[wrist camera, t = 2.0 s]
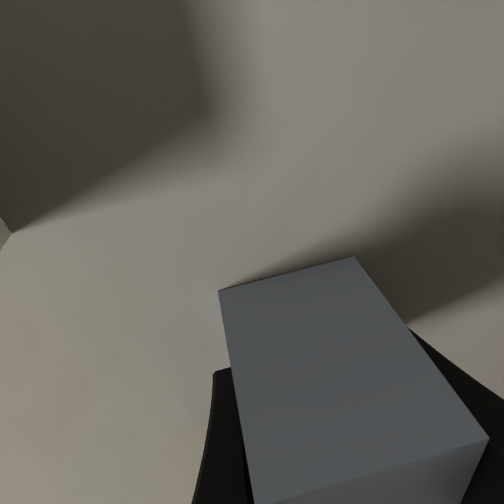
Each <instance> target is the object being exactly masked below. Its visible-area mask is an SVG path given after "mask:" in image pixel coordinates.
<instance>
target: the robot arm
mask: <svg viewBox="0 0 504 504" xmlns="http://www.w3.org/2000/svg"><path fill="white" fill-rule="evenodd" d="M407 328H408V327H407ZM408 329H409V328H408ZM409 330H410V329H409ZM410 332H411V333H412V335H413V336H414V337H415V339H416V340H417V341H418V343H419V344H420V345H421V347H422V348H423V349H424V351H425V352H426V353H427V355H428V356H429V357H430V359H431V360H432V361H433V363H434V364H435V365H436V367H437V368H438V369H439V371H440V372H441V374H442V375H443V376H444V378H445V379H446V380H447V382H448V383H449V384H450V386H451V387H452V388H453V390H454V391H455V392H456V394H457V395H458V396H459V398H460V399H461V400H462V402H463V403H464V404H465V406H466V407H467V408H468V410H469V411H470V413H471V414H472V415H473V417H474V418H475V419H476V421H477V422H478V423H479V425H480V426H481V427H482V429H483V430H484V431H485V433H486V434H487V435H488V437H489V441H488V443H487V445H486V447H485V449H484V452H483V454H482V456H481V458H480V461H479V463H478V465H477V467H476V469H475V472H474V474H473V476H472V478H471V481H470V483H469V485H468V487H467V489H466V492H465V494H464V496H463V498H462V501H461V503H460V504H504V399H502V398H501V397H499V396H498V395H496V394H495V393H493V392H492V391H490V390H489V389H488V388H486V387H485V386H483V385H482V384H480V383H479V382H478V381H476V380H475V379H473V378H472V377H471V376H469V375H468V374H467V373H465V372H464V371H463V370H461V369H460V368H459V367H457V366H456V365H455V364H453V363H452V362H451V361H449V360H448V359H447V358H445V357H444V356H443V355H442V354H440V353H439V352H438V351H436V350H435V349H434V348H433V347H431V346H430V345H429V344H428V343H426V342H425V341H424V340H423V339H421V338H420V337H419V336H418V335H417V334H415V333H414V332H413V331H412V330H410ZM192 504H254V498H253V492H252V486H251V480H250V475H249V469H248V463H247V457H246V451H245V446H244V440H243V434H242V428H241V422H240V417H239V411H238V405H237V399H236V393H235V388H234V382H233V376H232V370H231V367H229V368H226V369H222V370H218V371H215V373H214V374H213V387H212V400H211V409H210V416H209V423H208V429H207V435H206V441H205V447H204V452H203V457H202V461H201V466H200V470H199V475H198V479H197V483H196V488H195V492H194V496H193V500H192Z"/></svg>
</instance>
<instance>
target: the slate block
mask: <svg viewBox="0 0 504 504" xmlns="http://www.w3.org/2000/svg"><path fill="white" fill-rule="evenodd" d="M218 295H219V301H220V306H221V312H222V318H223V324H224V330H225V335H226V341H227V347H228V353H229V359H230V364H231V370H232V376H233V382H234V388H235V393H236V399H237V405H238V411H239V417H240V422H241V428H242V434H243V440H244V446H245V451H246V457H247V463H248V469H249V475H250V480H251V486H252V492H253V498H254V504H460V503H461V501H462V498H463V496H464V494H465V492H466V489H467V487H468V485H469V483H470V481H471V478H472V476H473V474H474V472H475V469H476V467H477V465H478V463H479V461H480V458H481V456H482V454H483V452H484V449H485V447H486V445H487V443H488V441H489V437H488V435H487V434H486V433H485V431H484V430H483V429H482V427H481V426H480V425H479V423H478V422H477V421H476V419H475V418H474V417H473V415H472V414H471V413H470V411H469V410H468V408H467V407H466V406H465V404H464V403H463V402H462V400H461V399H460V398H459V396H458V395H457V394H456V392H455V391H454V390H453V388H452V387H451V386H450V384H449V383H448V382H447V380H446V379H445V378H444V376H443V375H442V374H441V372H440V371H439V369H438V368H437V367H436V365H435V364H434V363H433V361H432V360H431V359H430V357H429V356H428V355H427V353H426V352H425V351H424V349H423V348H422V347H421V345H420V344H419V343H418V341H417V340H416V339H415V337H414V336H413V335H412V333H411V332H410V330H409V329H408V328H407V326H406V325H405V324H404V322H403V321H402V320H401V318H400V317H399V316H398V314H397V313H396V312H395V310H394V309H393V308H392V306H391V305H390V304H389V302H388V301H387V300H386V298H385V297H384V296H383V294H382V293H381V291H380V290H379V289H378V287H377V286H376V285H375V283H374V282H373V281H372V279H371V278H370V277H369V275H368V274H367V273H366V271H365V270H364V269H363V267H362V266H361V265H360V263H359V262H358V261H357V259H356V258H355V257H354V256H352V257H348V258H344V259H340V260H336V261H332V262H329V263H325V264H321V265H317V266H313V267H309V268H305V269H301V270H298V271H294V272H290V273H286V274H282V275H278V276H274V277H270V278H266V279H263V280H259V281H255V282H251V283H247V284H243V285H239V286H235V287H232V288H228V289H224V290H220V291H218Z"/></svg>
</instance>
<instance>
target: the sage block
mask: <svg viewBox="0 0 504 504" xmlns="http://www.w3.org/2000/svg"><path fill="white" fill-rule="evenodd" d="M11 234H12V233H11V232H10V230H9V229H8V227H7V226H6V224H5V223H4V221H3V220H2V218H1V217H0V250H1V249H2V247H3V246H4V244H5V243H6V241H7V240H8V238H9V237H10V236H11Z"/></svg>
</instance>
